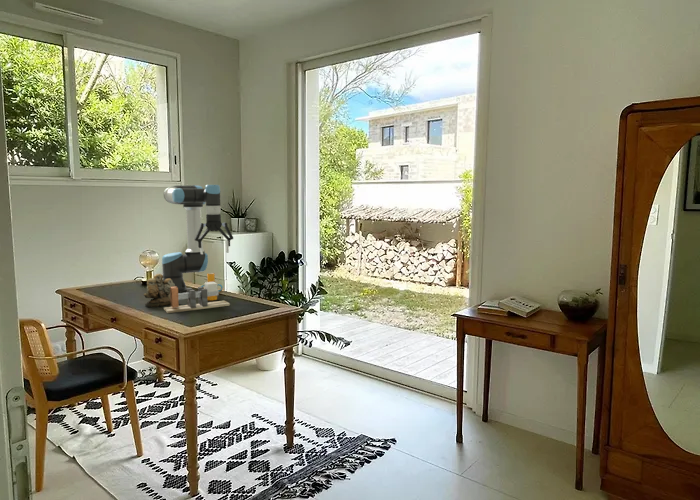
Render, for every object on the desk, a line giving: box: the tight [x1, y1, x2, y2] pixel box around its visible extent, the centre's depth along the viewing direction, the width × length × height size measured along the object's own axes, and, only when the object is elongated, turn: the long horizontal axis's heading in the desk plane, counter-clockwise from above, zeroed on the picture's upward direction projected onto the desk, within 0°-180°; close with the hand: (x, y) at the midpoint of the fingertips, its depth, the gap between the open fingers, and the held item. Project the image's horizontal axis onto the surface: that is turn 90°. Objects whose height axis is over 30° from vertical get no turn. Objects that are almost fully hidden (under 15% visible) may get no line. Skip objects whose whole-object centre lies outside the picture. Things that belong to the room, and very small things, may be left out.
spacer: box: [203, 281, 219, 292], centre depth 256 cm, size 7×5×4 cm
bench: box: [163, 286, 231, 314], centre depth 253 cm, size 9×32×10 cm, turn 122°
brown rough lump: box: [142, 273, 175, 309], centre depth 259 cm, size 18×12×17 cm, turn 134°
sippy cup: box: [200, 272, 223, 302], centre depth 272 cm, size 12×10×15 cm
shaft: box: [170, 286, 220, 308], centre depth 252 cm, size 4×24×10 cm, turn 122°
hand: (214, 253), depth 259 cm, fingers open, 13 cm apart
